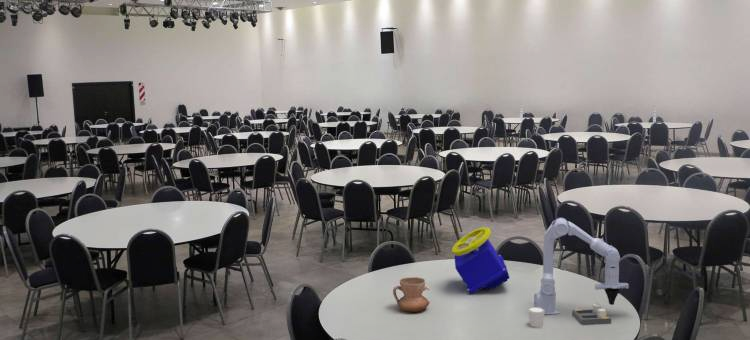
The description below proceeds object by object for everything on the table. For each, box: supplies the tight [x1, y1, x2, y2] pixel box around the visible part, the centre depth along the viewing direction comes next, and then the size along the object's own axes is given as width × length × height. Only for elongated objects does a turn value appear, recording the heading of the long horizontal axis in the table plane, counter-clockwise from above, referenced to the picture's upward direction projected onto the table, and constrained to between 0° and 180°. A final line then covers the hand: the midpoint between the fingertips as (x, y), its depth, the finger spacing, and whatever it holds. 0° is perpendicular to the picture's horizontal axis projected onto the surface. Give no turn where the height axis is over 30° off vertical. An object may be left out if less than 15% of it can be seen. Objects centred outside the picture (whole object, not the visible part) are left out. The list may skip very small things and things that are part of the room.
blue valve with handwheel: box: [451, 226, 511, 295], centre depth 316 cm, size 26×27×30 cm
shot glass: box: [528, 306, 545, 328], centre depth 269 cm, size 7×7×7 cm
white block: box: [592, 303, 602, 313], centre depth 277 cm, size 3×3×4 cm
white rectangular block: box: [597, 308, 607, 318], centre depth 271 cm, size 3×3×4 cm
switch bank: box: [571, 308, 612, 326], centre depth 274 cm, size 13×11×2 cm
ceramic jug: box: [392, 276, 431, 313], centre depth 292 cm, size 18×14×14 cm
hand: (611, 304), depth 277 cm, fingers closed
